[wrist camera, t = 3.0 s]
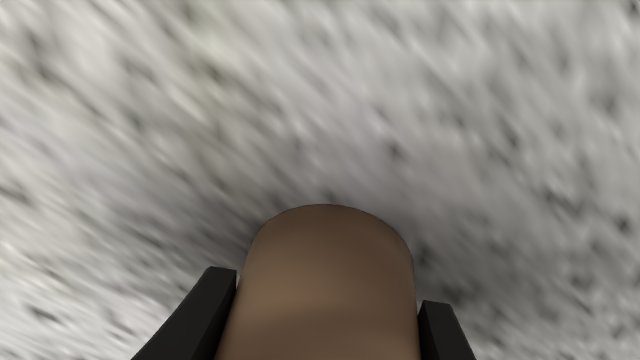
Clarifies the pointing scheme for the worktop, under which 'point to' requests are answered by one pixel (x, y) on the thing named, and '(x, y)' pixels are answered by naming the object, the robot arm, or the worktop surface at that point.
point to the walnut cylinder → (324, 291)
